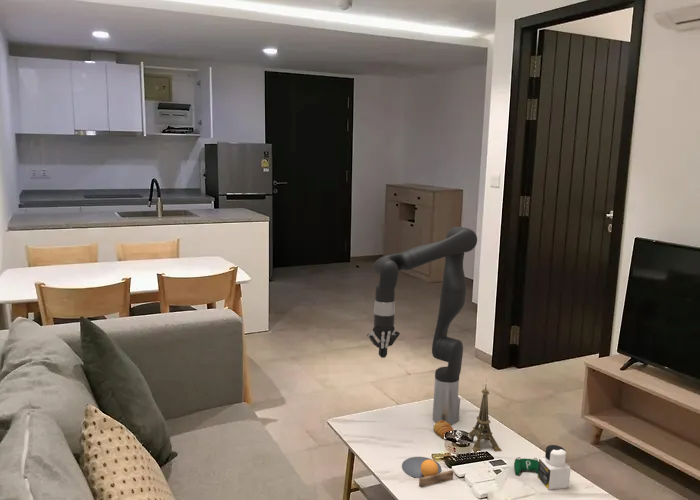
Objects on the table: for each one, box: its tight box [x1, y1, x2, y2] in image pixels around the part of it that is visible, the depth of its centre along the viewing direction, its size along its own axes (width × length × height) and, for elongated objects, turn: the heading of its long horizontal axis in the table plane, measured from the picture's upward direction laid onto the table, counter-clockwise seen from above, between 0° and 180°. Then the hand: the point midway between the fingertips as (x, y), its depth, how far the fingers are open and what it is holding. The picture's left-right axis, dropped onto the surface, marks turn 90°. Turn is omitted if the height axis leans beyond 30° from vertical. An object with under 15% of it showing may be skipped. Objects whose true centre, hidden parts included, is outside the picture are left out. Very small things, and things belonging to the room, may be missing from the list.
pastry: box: [433, 420, 454, 440], centre depth 218 cm, size 9×7×4 cm
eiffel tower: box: [468, 379, 503, 453], centre depth 209 cm, size 11×11×25 cm
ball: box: [421, 459, 438, 477], centre depth 190 cm, size 6×6×6 cm
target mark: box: [401, 456, 442, 479], centre depth 196 cm, size 13×13×1 cm
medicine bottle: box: [537, 444, 571, 490], centre depth 188 cm, size 7×7×12 cm
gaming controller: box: [513, 456, 539, 476], centre depth 195 cm, size 9×4×6 cm
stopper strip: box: [418, 469, 454, 488], centre depth 187 cm, size 12×1×2 cm, turn 114°
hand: (382, 356), depth 220 cm, fingers closed
